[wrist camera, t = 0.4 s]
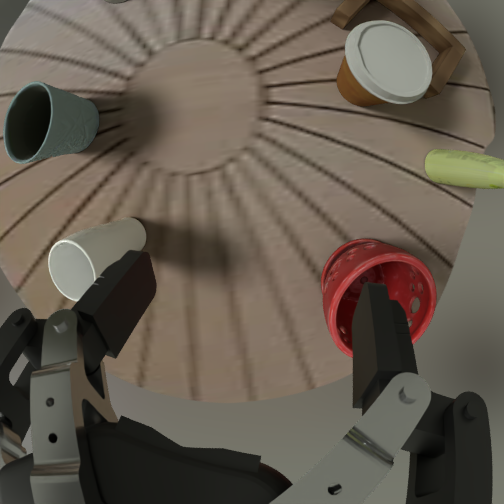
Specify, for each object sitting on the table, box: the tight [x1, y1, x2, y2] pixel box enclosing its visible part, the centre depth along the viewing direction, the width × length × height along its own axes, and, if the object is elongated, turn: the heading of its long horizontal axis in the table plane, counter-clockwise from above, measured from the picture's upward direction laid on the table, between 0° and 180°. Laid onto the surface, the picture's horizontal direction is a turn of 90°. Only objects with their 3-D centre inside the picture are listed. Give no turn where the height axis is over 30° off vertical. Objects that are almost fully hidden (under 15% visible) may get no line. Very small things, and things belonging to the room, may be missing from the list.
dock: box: [330, 0, 466, 99], centre depth 26 cm, size 17×12×4 cm
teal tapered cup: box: [3, 81, 99, 164], centre depth 28 cm, size 10×10×12 cm
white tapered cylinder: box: [49, 217, 146, 301], centre depth 31 cm, size 7×7×15 cm
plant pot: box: [321, 239, 436, 358], centre depth 33 cm, size 13×13×12 cm
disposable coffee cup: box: [337, 20, 432, 106], centre depth 25 cm, size 10×10×12 cm
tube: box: [425, 149, 504, 189], centre depth 24 cm, size 6×5×20 cm
